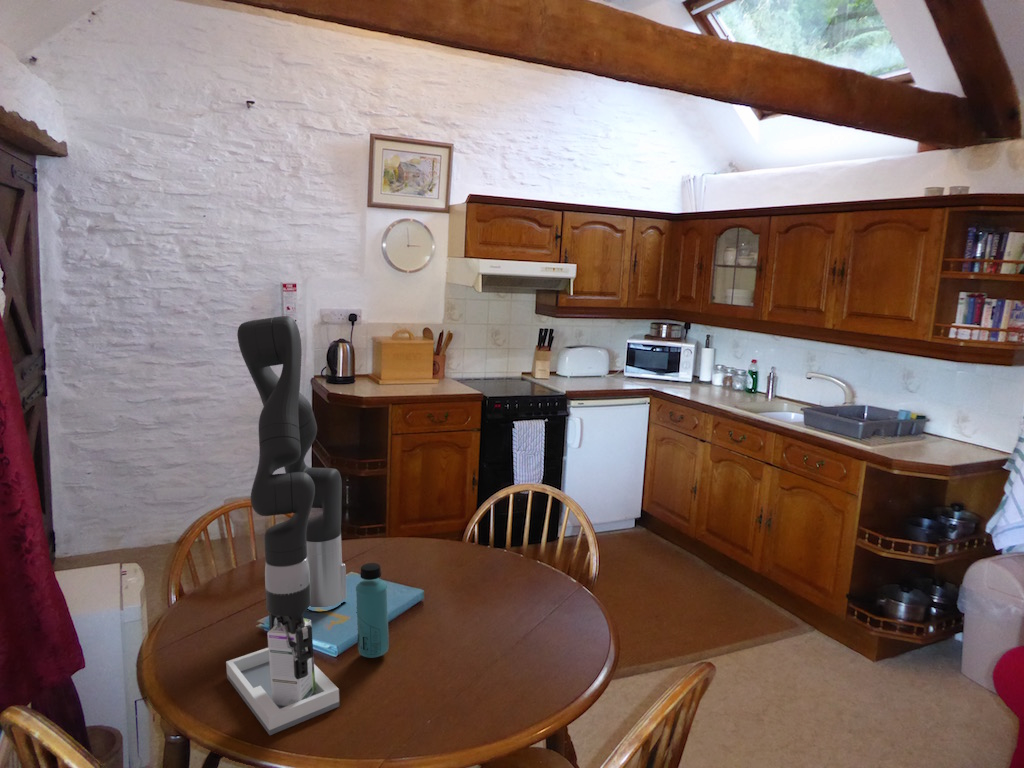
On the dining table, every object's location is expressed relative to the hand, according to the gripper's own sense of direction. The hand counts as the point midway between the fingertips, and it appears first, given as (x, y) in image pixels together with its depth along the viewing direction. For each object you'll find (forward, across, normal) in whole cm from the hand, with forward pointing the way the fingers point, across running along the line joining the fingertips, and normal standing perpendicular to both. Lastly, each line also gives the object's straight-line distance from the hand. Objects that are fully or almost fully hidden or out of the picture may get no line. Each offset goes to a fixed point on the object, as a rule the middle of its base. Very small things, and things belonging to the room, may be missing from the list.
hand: (291, 666), depth 130 cm
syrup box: (+6, 0, 0) cm, 6 cm away
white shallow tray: (+8, +6, 0) cm, 10 cm away
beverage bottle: (+8, +6, -20) cm, 22 cm away
